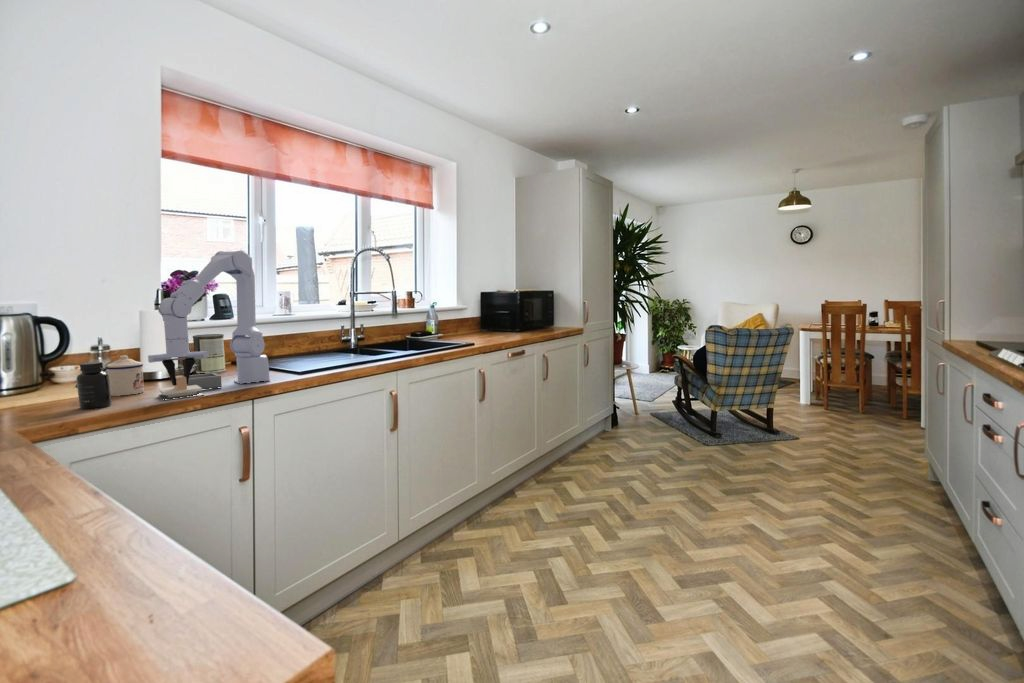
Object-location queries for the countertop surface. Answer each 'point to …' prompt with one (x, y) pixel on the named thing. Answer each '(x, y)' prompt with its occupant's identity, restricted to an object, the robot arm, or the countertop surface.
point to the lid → (180, 388)
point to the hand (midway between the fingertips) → (180, 384)
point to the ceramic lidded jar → (125, 376)
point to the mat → (176, 396)
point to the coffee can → (210, 353)
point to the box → (205, 380)
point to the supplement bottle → (93, 386)
